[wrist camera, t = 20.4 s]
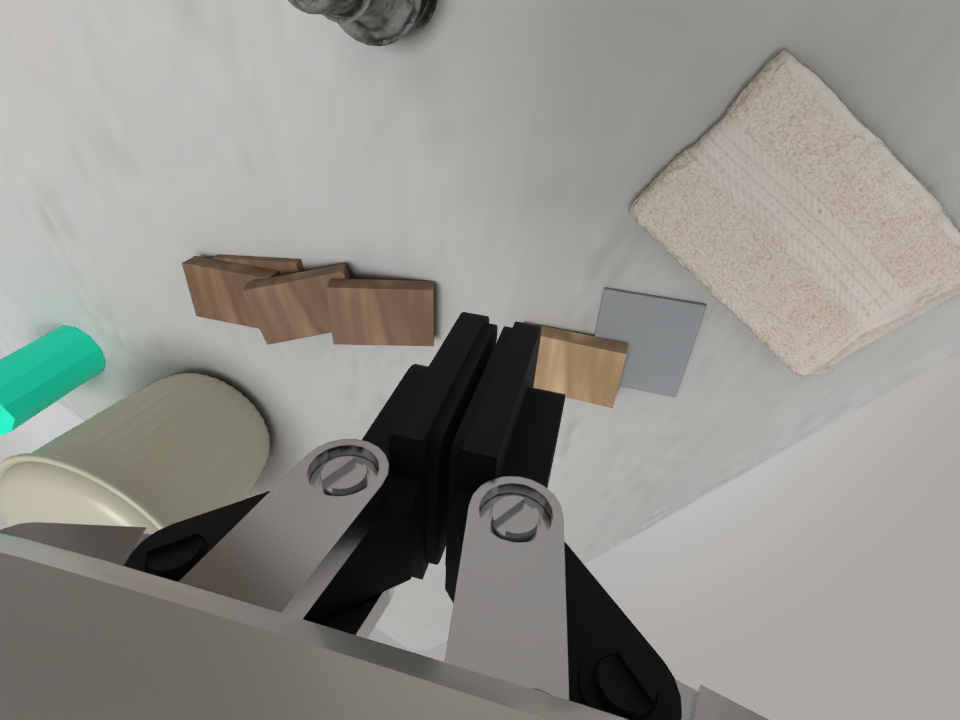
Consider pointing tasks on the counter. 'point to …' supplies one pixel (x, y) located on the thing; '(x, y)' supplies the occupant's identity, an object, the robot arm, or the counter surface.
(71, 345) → the candle
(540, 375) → the domino
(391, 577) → the robot arm
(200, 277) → the domino
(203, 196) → the counter surface
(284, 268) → the domino
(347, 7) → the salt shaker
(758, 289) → the washcloth
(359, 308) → the domino
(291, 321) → the domino
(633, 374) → the pad
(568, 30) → the counter surface
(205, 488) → the canister
